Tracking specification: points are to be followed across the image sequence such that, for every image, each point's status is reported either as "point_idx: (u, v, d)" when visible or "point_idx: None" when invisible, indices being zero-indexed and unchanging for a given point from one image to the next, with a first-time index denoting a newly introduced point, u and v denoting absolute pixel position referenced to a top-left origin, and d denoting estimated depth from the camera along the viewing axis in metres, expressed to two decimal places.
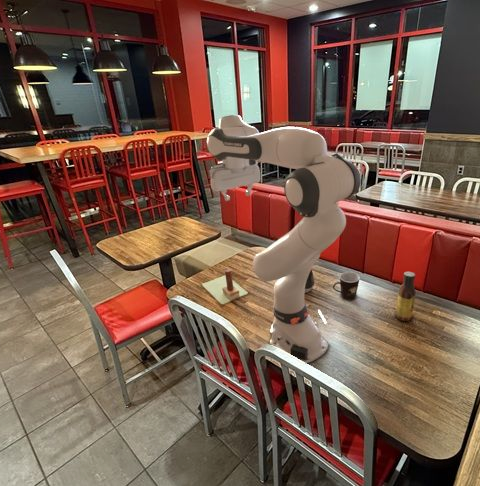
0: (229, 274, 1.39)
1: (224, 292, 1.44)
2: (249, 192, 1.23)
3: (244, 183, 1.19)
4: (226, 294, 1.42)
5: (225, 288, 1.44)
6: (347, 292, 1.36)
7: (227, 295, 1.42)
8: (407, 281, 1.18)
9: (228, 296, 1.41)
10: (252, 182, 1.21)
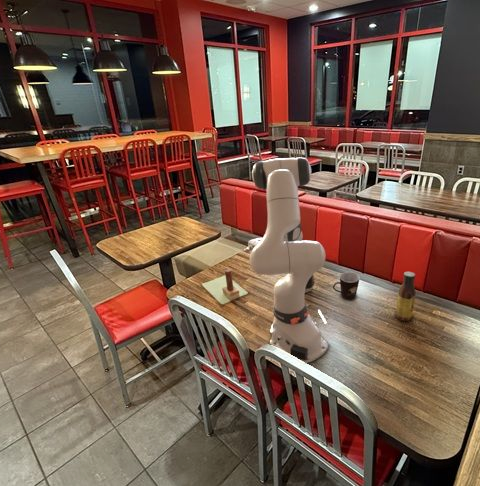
0: (229, 274, 1.39)
1: (224, 292, 1.44)
2: None
3: None
4: (226, 294, 1.42)
5: (225, 288, 1.44)
6: (347, 292, 1.36)
7: (227, 295, 1.42)
8: (407, 281, 1.18)
9: (228, 296, 1.41)
10: None
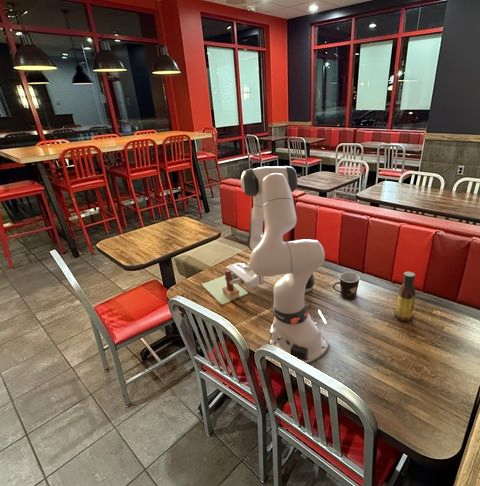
0: (229, 274, 1.39)
1: (224, 292, 1.44)
2: (232, 280, 1.40)
3: (240, 275, 1.41)
4: (226, 294, 1.42)
5: (225, 288, 1.44)
6: (347, 292, 1.36)
7: (227, 295, 1.42)
8: (407, 281, 1.18)
9: (228, 296, 1.41)
10: (244, 278, 1.38)
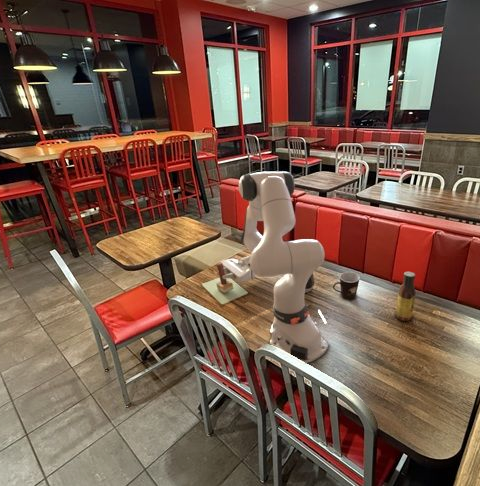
0: (221, 267, 1.44)
1: (218, 287, 1.47)
2: (225, 274, 1.44)
3: (233, 270, 1.46)
4: (220, 288, 1.46)
5: (219, 283, 1.48)
6: (347, 292, 1.36)
7: (221, 289, 1.45)
8: (407, 281, 1.18)
9: (222, 289, 1.44)
10: (236, 273, 1.43)
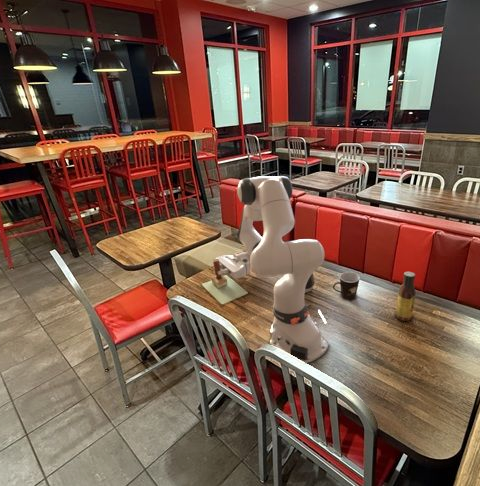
0: (217, 264, 1.48)
1: (213, 281, 1.53)
2: (220, 270, 1.49)
3: (228, 266, 1.50)
4: (215, 283, 1.51)
5: (214, 277, 1.53)
6: (347, 292, 1.36)
7: (216, 284, 1.51)
8: (407, 281, 1.18)
9: (217, 284, 1.50)
10: (231, 269, 1.47)
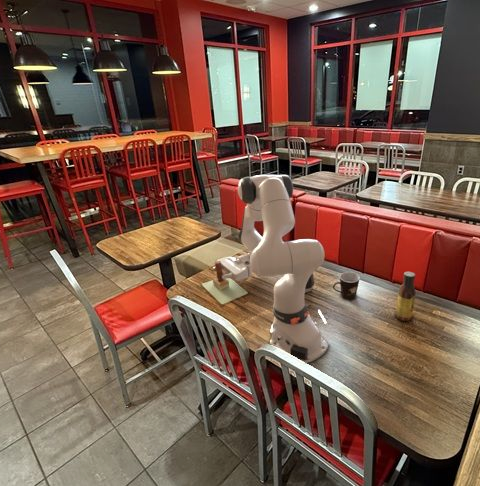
0: (219, 266, 1.46)
1: (214, 283, 1.51)
2: (224, 274, 1.45)
3: (230, 268, 1.49)
4: (216, 285, 1.50)
5: (215, 279, 1.51)
6: (347, 292, 1.36)
7: (217, 286, 1.49)
8: (407, 281, 1.18)
9: (218, 287, 1.49)
10: (233, 271, 1.46)
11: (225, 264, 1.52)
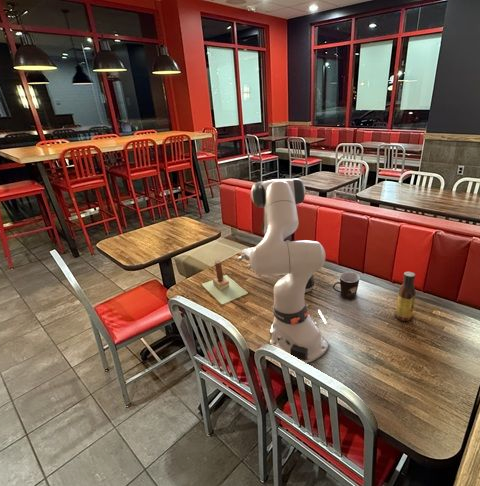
0: (219, 266, 1.46)
1: (214, 283, 1.51)
2: (250, 264, 1.52)
3: None
4: (216, 285, 1.50)
5: (215, 279, 1.51)
6: (347, 292, 1.36)
7: (217, 286, 1.49)
8: (407, 281, 1.18)
9: (218, 287, 1.49)
10: None
11: (249, 254, 1.59)
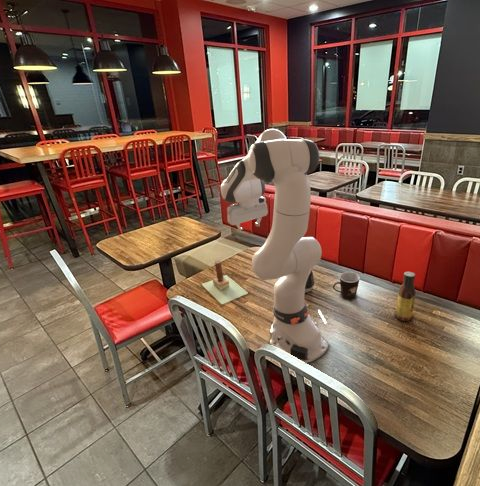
0: (219, 266, 1.46)
1: (214, 283, 1.51)
2: (258, 223, 1.49)
3: (254, 217, 1.45)
4: (216, 285, 1.50)
5: (215, 279, 1.51)
6: (347, 292, 1.36)
7: (217, 286, 1.49)
8: (407, 281, 1.18)
9: (218, 287, 1.49)
10: (261, 216, 1.47)
11: (245, 219, 1.42)
